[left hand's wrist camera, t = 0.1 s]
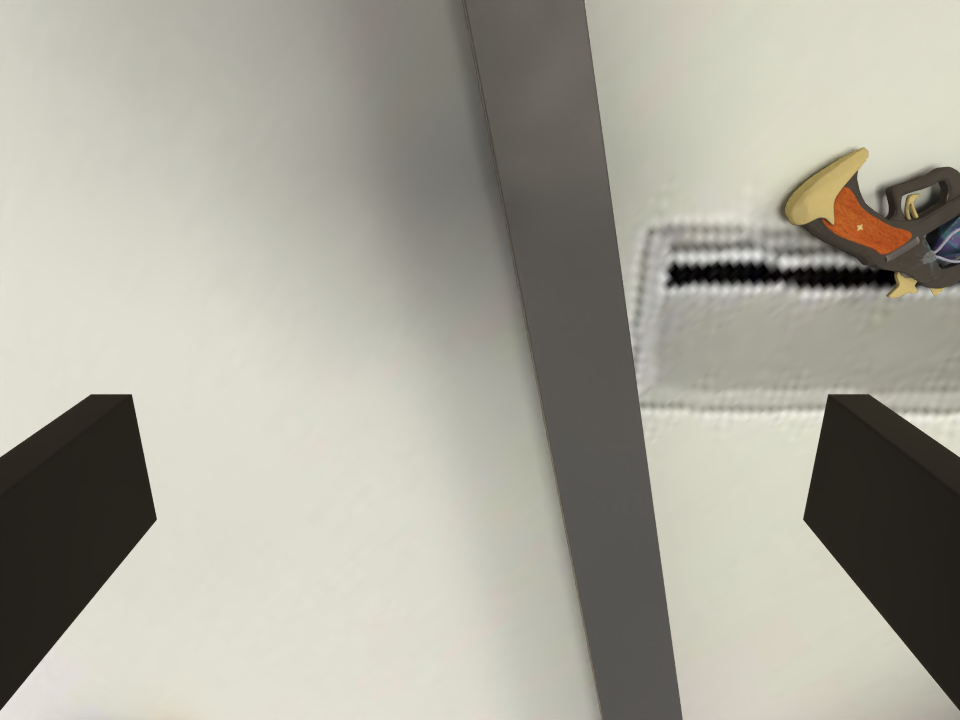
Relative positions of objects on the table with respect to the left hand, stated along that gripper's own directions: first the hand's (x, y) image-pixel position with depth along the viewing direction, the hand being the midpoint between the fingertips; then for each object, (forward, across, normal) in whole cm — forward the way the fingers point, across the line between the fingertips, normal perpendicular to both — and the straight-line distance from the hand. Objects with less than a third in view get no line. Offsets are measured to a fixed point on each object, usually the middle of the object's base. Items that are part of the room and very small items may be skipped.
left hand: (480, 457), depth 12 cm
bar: (+28, +7, -13) cm, 32 cm away
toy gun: (+28, +28, +3) cm, 39 cm away
